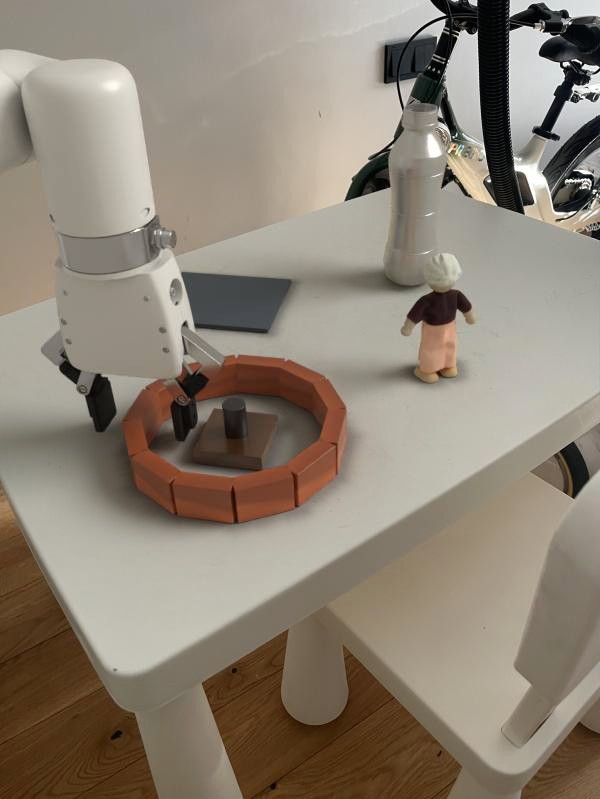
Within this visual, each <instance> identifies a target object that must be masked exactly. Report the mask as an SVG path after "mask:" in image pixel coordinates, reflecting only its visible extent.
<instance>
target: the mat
mask: <svg viewBox="0 0 600 799" xmlns="http://www.w3.org/2000/svg"><path fill="white" fill-rule="evenodd" d="M180 273H181V276H182V279H183V282H184V285H185V289H186V292H187V296H188V300H189V304H190V308H191V312H192V317H193V322H194V327H195V328H203V329H205V328H206V329H215V330H216V329H218V330H227V331H241V332H251V333H264V334H268V333H269V331H270V329H271V327H272V325H273V323H274V321H275V319H276V316H277V315H278V313H279V310H280V308H281V306H282V304H283V302H284V300H285V297H286V296H287V293H288V291H289V289H290V287H291V285H292V279H291V278H290V279H289V278H279V277H278V278H277V277H265V276H264V277H263V276H261V277H260V276H248V275H235V274H234V275H233V274H218V273H204V272H189V271H182V272H180Z"/></svg>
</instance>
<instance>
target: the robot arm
mask: <svg viewBox="0 0 600 799" xmlns="http://www.w3.org/2000/svg"><path fill="white" fill-rule="evenodd" d="M141 112H142V111H141V106H140V100H139V93H138V88H137V85H136V81H135V79H134V77H133V75H132V73H131V72H130V71H129V69H128V68H127V67H125V66H124V65H122V64H121V63H120V62H117V61H114V60H109V59H104V58H103V59H102V58H73V59H65V60H64V59H63V60H62V59H57V58H53V57H48V56H45V55H40V54H38V53H37V54H36V53H33V52H29V51H25V50H20V49H12V48H7V49H6V48H3V49H0V177H1V176H2V175H5V174H7V173H8V172H10V171H12V170H13V169H15V168H19V167H21V166H23V165H26V164H29V163H31V162H34V161H36V164H37V168H38V172H39V176H40V180H41V185H42V188H43V193H44V197H45V201H46V205H47V210H48V213H49V217H50V222H51V226H52V230H53V235H54V238H55V243H56V246H57V251H58V255H59V256H58V257H57V258H56V260H55V262H54V288H55V289H54V290H55V303H56V311H57V319H58V325H59V329H58V330H57V331H56V332H55V333H54V334H53V335H51V337H49V338H48V339H47V340H46V342H44V344H43V345H42V346H41V347H40V352H41V354H42V355H43V356H44V357H45V358H46V359H47V360H49V362H50V363H52V364H53V365H55V367H56V366H57V367H58V370H59V372H60V374H62V375H63V376H64V377H66V379H67V380H69V381H71V383H73V384H74V385H76V386H75V390H76V391H77V393H78V394H80V395H81V396H84V399H85V402H86V406H87V410H88V411H87V412H88V414H89V417H90V418H91V419H92V422H93V426H94V431H95V433H104V432H106V430H107V429H108V427H109V426H110V424H111V423H112V422H113V420H114V419H115V417H116V415H117V414H118V413H117V412H118V411H117V406H116V401H115V397H114V392H113V388H112V384H111V381H110V380H109V376H103V375H110V376H111V375H112V376H121V377H128V378H129V377H131V378H141V379H150V380H151V379H152V380H158V379H160V380H161V381H162V383H163V384H164V385H165V387H166V388H167V390H168V391H169V392H170V394H171V395H172V397H173V398H174V400H173V402H172V404H171V406H170V410H171V415H172V417H171V420H172V426H173V427H172V428H173V432H174V439H175V440H176V441H177V442H179V443H180V442H181V443H184V442H185V441H186V439H187V437H189V436H188V435H189V433H190V432H191V430H194V429H195V428H196V426H197V424H198V421H199V420H198V419H199V415H198V408H197V401H196V400H195V395H196V394H198V393H199V392H200V391H201V390H202V389H203V388H205V386H206V385H207V383H208V382H209V381H211V380H212V379H213V378H214V377H215V376H216V375H217V374H218V373H219V372H220V370H221V369H222V367H223V365H224V363H225V361H226V359H225V357H224V356H225V355H224V354H222V353H221V352H220V351H218V350H217V349H216V348H214V347H213V346H212V345H210V344H209V343H208V342H207V341H205V340H204V339H203V338H201V337H200V336H199V335H198V334H196V327H194V322H193V317H192V312H191V308H190V304H189V300H188V296H187V292H186V289H185V285H184V282H183V279H182V276H181V273H182V272H181V270H180V267H179V265H178V261H177V260H176V257H175V255H174V253H173V251H172V250H171V249H175V248H176V245H177V240H178V239H177V238H178V237H177V232H176V231H175V229H167V228H166V227H162V225H161V221H160V215H159V214H157V212H156V205H155V199H154V191H153V186H152V185H153V184H152V178H151V173H150V172H151V171H150V165H149V158H148V151H147V146H146V138H145V133H144V132H145V131H144V126H143V125H144V124H143V119H142V113H141ZM187 355H188V356H190V357H191V358H192V359H193V360H195V362H199V363H200V364H201V367H200V368H199V369H197V370H196V371H195V372H194V373H193V372H192V370H191V369H190V367H189V366H188V364H189V363H188V362H187V361H186V360H185V358H184V356H187ZM179 379H180V380H179ZM181 382H182V383H181Z"/></svg>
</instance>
